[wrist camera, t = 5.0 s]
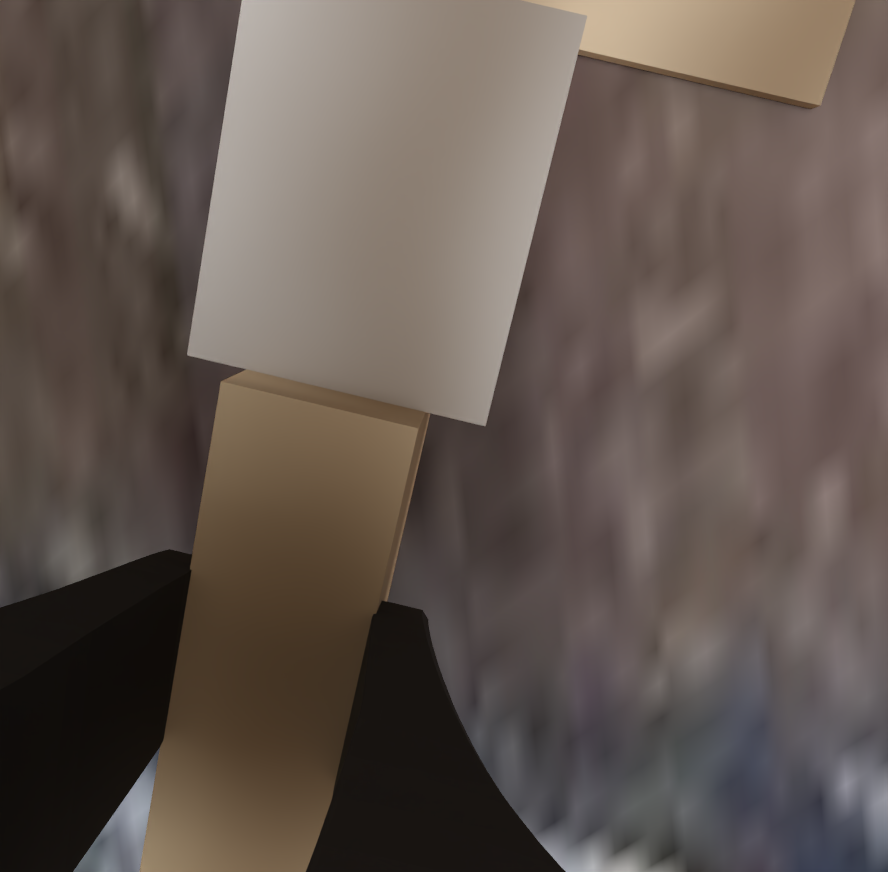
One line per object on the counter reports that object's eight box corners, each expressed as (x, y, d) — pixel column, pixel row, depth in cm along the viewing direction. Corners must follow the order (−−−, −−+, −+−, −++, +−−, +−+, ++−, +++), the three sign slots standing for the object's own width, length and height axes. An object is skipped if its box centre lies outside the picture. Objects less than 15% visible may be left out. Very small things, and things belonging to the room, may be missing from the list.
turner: (153, 824, 14) (67, 969, 12) (293, -8, 11) (223, -101, 8) (369, 877, 14) (336, 1035, 12) (571, 57, 11) (597, -13, 8)
